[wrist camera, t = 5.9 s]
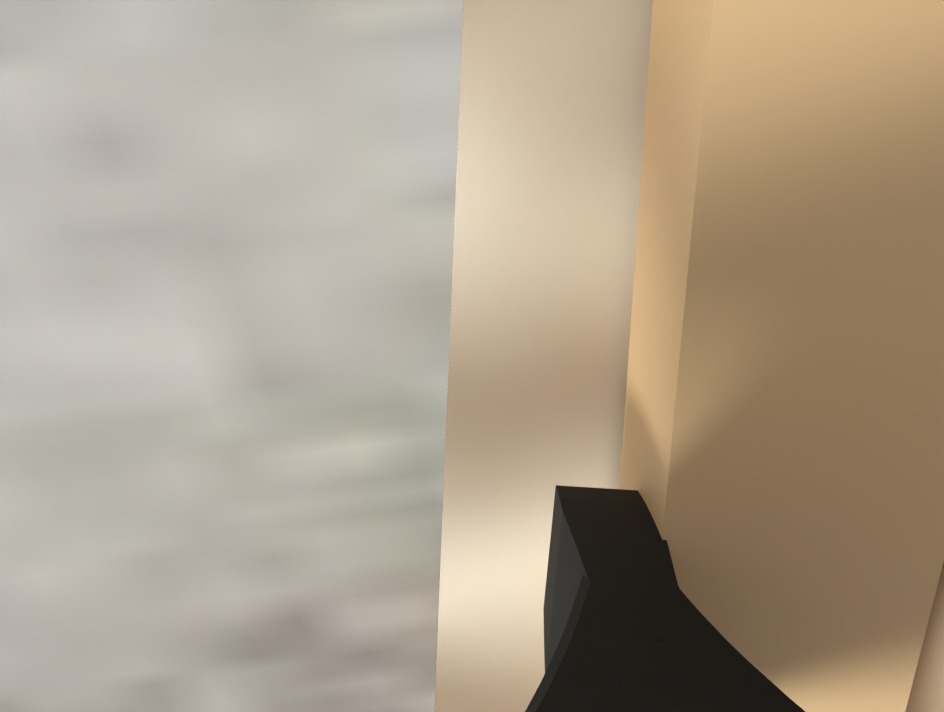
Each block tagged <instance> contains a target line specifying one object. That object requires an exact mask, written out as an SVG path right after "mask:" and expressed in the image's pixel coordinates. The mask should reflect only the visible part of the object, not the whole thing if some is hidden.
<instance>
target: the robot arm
mask: <svg viewBox="0 0 944 712" xmlns="http://www.w3.org/2000/svg"><path fill="white" fill-rule="evenodd" d="M543 613H544V660H545V675H544V677H543V679H542V681H541V683H540V685H539V687H538V688H537V690H536V692H535V694H534V696H533V698H532V700H531V701H530V703H529V705H528V707H527V709H526V711H525V712H805V711H804V710H803V709H802V708H801V707H799V706H798V705H797V704H796V703H795V702H793V701H792V700H791V699H790V698H789V697H788V696H787V695H786V694H784V693H783V692H782V691H781V690H780V689H779V688H778V687H777V686H776V685H774V684H773V683H772V682H771V681H770V680H769V679H768V678H767V677H766V676H764V675H763V674H762V673H761V672H760V671H759V670H758V669H757V668H756V667H754V666H753V665H752V664H751V663H750V662H749V661H748V660H747V659H746V658H745V657H744V656H743V655H742V654H740V653H739V652H738V651H737V650H736V649H735V648H734V647H733V646H732V645H731V644H730V643H729V642H728V641H727V640H726V639H725V638H724V637H723V636H722V635H721V634H720V633H719V631H718V630H717V629H716V628H715V627H714V626H713V625H712V624H711V623H710V622H709V621H708V620H707V619H706V618H705V617H704V616H703V615H702V613H701V612H700V611H699V610H698V609H697V608H696V607H695V606H694V604H693V603H692V602H691V601H690V600H689V599H688V598H687V597H686V595H685V594H684V593H683V592H682V591H681V589H680V588H679V586H678V583H677V579H676V575H675V571H674V567H673V563H672V559H671V555H670V551H669V547H668V544H667V540H662V538H661V535H660V533H659V531H658V528H657V526H656V524H655V521H654V519H653V517H652V515H651V513H650V511H649V509H648V507H647V505H646V503H645V501H644V500H643V498H642V496H641V495H640V493H639V492H638V490H624V489H607V488H591V487H575V486H559V485H556V488H555V498H554V508H553V518H552V528H551V538H550V548H549V558H548V568H547V578H546V588H545V598H544V608H543Z"/></svg>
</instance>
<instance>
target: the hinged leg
mask: <svg viewBox="0 0 944 712" xmlns="http://www.w3.org/2000/svg"><path fill="white" fill-rule="evenodd" d="M620 489H624V490H638V492H639V493H640V495H641V496H642V498H643V500H644V501H645V503H646V505H647V507H648V509H649V511H650V513H651V515H652V517H653V519H654V521H655V524H656V526H657V528H658V531H659V533H660V535H661V538H662V540H667V544H668V547H669V551H670V555H671V559H672V563H673V567H674V571H675V575H676V579H677V583H678V586H679V588H680V589H681V591H682V592H683V593H684V594H685V595H686V597H687V598H688V599H689V600H690V601H691V602H692V603H693V604H694V606H695V607H696V608H697V609H698V610H699V611H700V612H701V613H702V615H703V616H704V617H705V618H706V619H707V620H708V621H709V622H710V623H711V624H712V625H713V626H714V627H715V628H716V629H717V630H718V631H719V633H720V634H721V635H722V636H723V637H724V638H725V639H726V640H727V641H728V642H729V643H730V644H731V645H732V646H733V647H734V648H735V649H736V650H737V651H738V652H739V653H740V654H742V655H743V656H744V657H745V658H746V659H747V660H748V661H749V662H750V663H751V664H752V665H753V666H754V667H756V668H757V669H758V670H759V671H760V672H761V673H762V674H763V675H764V676H766V677H767V678H768V679H769V680H770V681H771V682H772V683H773V684H774V685H776V686H777V687H778V688H779V689H780V690H781V691H782V692H783V693H784V694H786V695H787V696H788V697H789V698H790V699H791V700H792V701H793V702H795V703H796V704H797V705H798V706H799V707H801V708H802V709H803V710H804V711H805V712H905V711H906V707H907V703H908V699H909V695H910V691H911V688H912V684H913V680H914V676H915V672H916V668H917V664H918V660H919V656H920V652H921V648H922V644H923V640H924V636H925V632H926V628H927V625H928V621H929V617H930V613H931V609H932V605H933V601H934V597H935V593H936V589H937V585H938V581H939V577H940V573H941V569H942V566H943V562H944V0H653V6H652V20H651V35H650V49H649V64H648V79H647V93H646V108H645V123H644V137H643V152H642V167H641V181H640V196H639V210H638V225H637V240H636V254H635V269H634V284H633V298H632V313H631V328H630V342H629V357H628V371H627V386H626V401H625V415H624V430H623V445H622V459H621V474H620Z"/></svg>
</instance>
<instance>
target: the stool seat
mask: <svg viewBox="0 0 944 712" xmlns="http://www.w3.org/2000/svg"><path fill="white" fill-rule="evenodd" d="M652 6H653V0H464V5H463V30H462V54H461V79H460V103H459V127H458V152H457V176H456V201H455V225H454V250H453V274H452V298H451V323H450V347H449V372H448V396H447V420H446V445H445V469H444V494H443V518H442V543H441V567H440V591H439V616H438V640H437V665H436V689H435V712H525V711H526V709H527V707H528V705H529V703H530V701H531V700H532V698H533V696H534V694H535V692H536V690H537V688H538V687H539V685H540V683H541V681H542V679H543V677H544V675H545V660H544V613H543V608H544V598H545V588H546V578H547V568H548V558H549V548H550V538H551V528H552V518H553V508H554V498H555V488H556V485H559V486H575V487H591V488H607V489H620V474H621V459H622V445H623V430H624V415H625V401H626V386H627V371H628V357H629V342H630V328H631V313H632V298H633V284H634V269H635V254H636V240H637V225H638V210H639V196H640V181H641V167H642V152H643V137H644V123H645V108H646V93H647V79H648V64H649V49H650V35H651V20H652ZM905 712H944V562H943V566H942V569H941V573H940V577H939V581H938V585H937V589H936V593H935V597H934V601H933V605H932V609H931V613H930V617H929V621H928V625H927V628H926V632H925V636H924V640H923V644H922V648H921V652H920V656H919V660H918V664H917V668H916V672H915V676H914V680H913V684H912V688H911V691H910V695H909V699H908V703H907V707H906V711H905Z"/></svg>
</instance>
